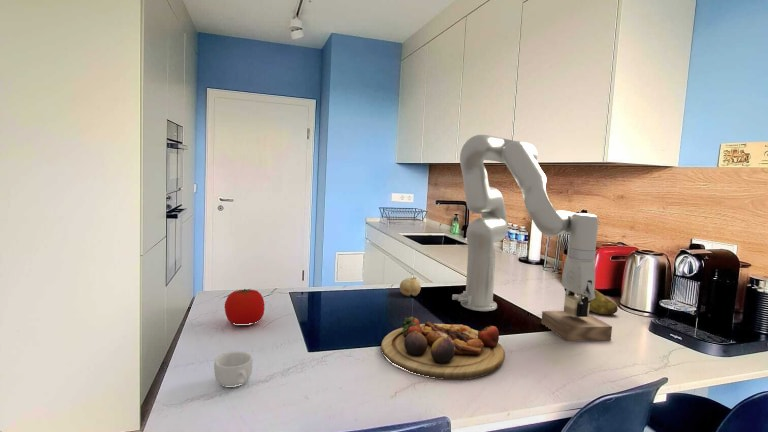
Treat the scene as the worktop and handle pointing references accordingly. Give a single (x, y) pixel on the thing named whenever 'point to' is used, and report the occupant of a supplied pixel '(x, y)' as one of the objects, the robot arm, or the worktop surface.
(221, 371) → the teacup
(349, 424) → the worktop surface
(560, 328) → the walnut base block
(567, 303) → the maple cube
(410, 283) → the cream round lump
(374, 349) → the worktop surface
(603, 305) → the green pickle
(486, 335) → the wooden plate with food
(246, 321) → the tomato
